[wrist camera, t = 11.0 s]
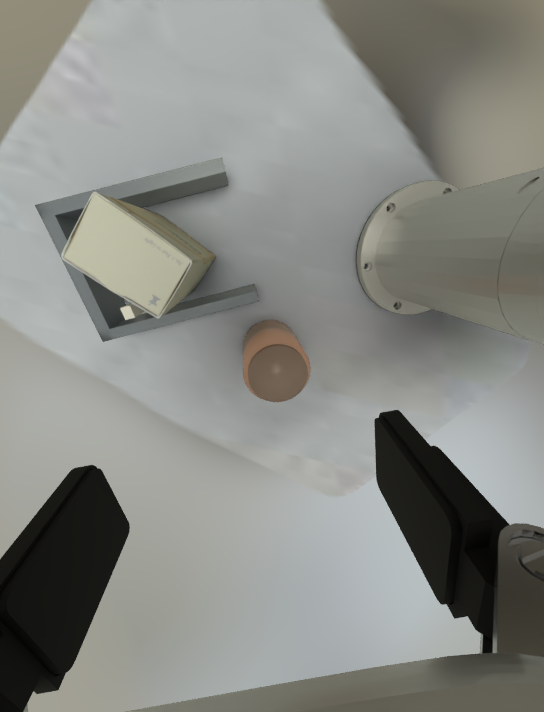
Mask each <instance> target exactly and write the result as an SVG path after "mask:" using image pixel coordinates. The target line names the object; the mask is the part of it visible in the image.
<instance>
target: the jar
mask: <svg viewBox="0 0 544 712" xmlns="http://www.w3.org/2000/svg"><path fill="white" fill-rule="evenodd" d="M243 375H244V380H245V383H246V385H247V387H248V388H249V390H250V391H251V392H252V393H253V394H254V395H256V396H257V397H259V398H261V399H264V400H267V401H271V402H282V401H286V400H289V399H291V398H293V397H295V396H296V395H297V394H299V393H300V392H301V390H302V389H303V388H304V387H305V385H306V383H307V381H308V379H309V376H310V362H309V359H308V357H307V355H306V353H305V351H304V350H303V348H302V346H301V345H300V343H299V342H298V340H297V338H296V337H295V335H294V333H293V332H292V330H291V329H290V328H289V327H288V326H287V325H285V324H284V323H282V322H279V321H276V320H265V321H261V322H259V323H257V324H255V325H254V326H252V327H251V328H250V329H249V330H248V332H247V333H246V335H245V338H244V341H243Z"/></svg>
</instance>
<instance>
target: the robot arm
mask: <svg viewBox="0 0 544 712" xmlns="http://www.w3.org/2000/svg"><path fill="white" fill-rule="evenodd" d="M387 206H388V208H389V209H388V211H387V209H386V208H387ZM356 260H357V272H358V275H359V279H360V283H361V285H362V287H363V289H364V291H365V292H366V294H367V295H368V296H369V297H370V299H371V300H372V301H374V302H375V303H376V304H377V305H379V306H380V307H382V308H384V309H386V310H388V311H391V312H394V313H398V314H405V315H409V314H419V313H423V312H426V311H429V310H431V309H434V310H437V311H440V312H443V313H446V314H449V315H452V316H456V317H459V318H462V319H465V320H468V321H471V322H474V323H477V324H480V325H483V326H486V327H489V328H493V329H496V330H499V331H502V332H505V333H508V334H511V335H514V336H517V337H520V338H524V339H527V340H530V341H534V342H537V343H540V344H544V168H541V169H537V170H534V171H530V172H526V173H522V174H519V175H515V176H511V177H507V178H503V179H500V180H496V181H492V182H488V183H484V184H480V185H477V186H473V187H469V188H465V189H462V190H460V189H458V188H457V187H455V186H454V185H451V184H448V183H445V182H442V181H423V182H417V183H414V184H411V185H408V186H406V187H404V188H402V189H400V190H398V191H396V192H394V193H393V194H391V195H390V196H389V197H387V198H386V199H385V200H384V201H383V202H382V203H381V204H380V205H379V206H378V207H377V208H376V209H375V210H374V212H373V213H372V215H371V216H370V218H369V219H368V221H367V222H366V225H365V227H364V229H363V231H362V233H361V237H360V240H359V244H358V249H357V259H356ZM365 264H366V265H367V266H366V268H365V269H364V265H365ZM394 304H395V305H394ZM375 448H376V477H377V483H378V486H379V488H380V491H381V493H382V495H383V496H384V498H385V500H386V502H387V504H388V506H389V508H390V510H391V511H392V514H393V516H394V517H395V519H396V521H397V523H398V525H399V527H400V529H401V531H402V533H403V535H404V537H405V539H406V541H407V543H408V544H409V546H410V548H411V550H412V552H413V553H414V556H415V558H416V560H417V562H418V564H419V565H420V567H421V569H422V571H423V573H424V575H425V577H426V579H427V581H428V583H429V585H430V586H431V589H432V590H433V592H434V594H435V596H436V598H437V600H438V601H439V602H440V603H441V604H447V606H448V607H449V609H450V611H451V613H452V615H453V617H454V618H460V617H465V616H468V617H469V619H470V621H471V622H472V624H473V626H474V628H475V629H476V630H477V631H478V632H480V633H481V641H480V654H470V655H459V656H447V657H440V658H434V659H427V660H420V661H414V662H407V663H400V664H395V665H387V666H380V667H374V668H368V669H363V670H357V671H352V672H345V673H340V674H334V675H329V676H322V677H317V678H311V679H305V680H299V681H294V682H288V683H282V684H277V685H271V686H265V687H259V688H255V689H249V690H243V691H237V692H232V693H226V694H221V695H215V696H209V697H205V698H198V699H193V700H187V701H182V702H176V703H171V704H165V705H160V706H155V707H149V708H143V709H138V710H132V711H127V712H544V529H543V528H541V527H538V526H534V525H529V524H512V525H509V524H508V523H507V521H506V520H505V519H504V518H503V517H502V516H501V515H500V514H499V513H498V512H497V511H496V509H495V508H494V507H492V505H491V504H490V503H489V502H488V501H487V500H486V499H485V497H484V496H483V495H482V494H481V493H480V492H479V491H478V490H477V489H476V488H475V487H474V486H473V484H472V483H471V482H470V481H469V480H468V479H467V478H466V477H465V476H464V475H463V474H462V472H461V471H460V470H459V469H458V468H457V467H456V466H455V465H454V464H453V463H452V462H451V460H450V459H449V458H448V457H447V456H446V455H445V454H444V453H443V452H442V451H441V450H440V449H439V448H438V447H436V446H430V445H429V444H428V443H427V442H426V441H425V439H424V438H423V437H422V436H421V435H420V434H419V433H418V431H417V430H416V429H415V428H414V427H413V426H412V425H411V424H410V422H409V421H408V420H407V419H406V418H405V417H404V416H403V414H402V413H401V412H400V411H399V410H394V411H388V412H383V413H380V415H379V418H376V419H375ZM129 528H130V527H129V522H128V520H127V518H126V516H125V514H124V513H123V511H122V509H121V507H120V505H119V503H118V501H117V499H116V497H115V495H114V493H113V491H112V489H111V487H110V485H109V484H108V482H107V480H106V478H105V476H104V474H103V472H102V470H101V469H97V467H96V466H94V465H89V466H84V467H78V468H74V469H73V470H71V471H70V472H69V474H68V475H67V476H66V477H65V479H64V480H63V481H62V483H61V484H60V485H59V486H58V487H57V489H56V490H55V491H54V492H53V494H52V495H51V496H50V497H49V499H48V500H47V501H46V503H45V504H44V505H43V506H42V508H41V509H40V510H39V511H38V513H37V514H36V515H35V516H34V518H33V519H32V520H31V521H30V523H29V524H28V525H27V526H26V528H25V529H24V530H23V531H22V533H21V534H20V535H19V537H18V538H17V539H16V540H15V541H14V543H13V544H12V545H11V546H10V548H9V549H8V550H7V551H6V553H5V554H4V555H3V557H2V558H1V559H0V712H28V708H27V703H28V701H29V698H30V696H31V695H32V692H33V691H34V692H35V693H37V694H39V693H45V692H51V691H56V690H59V687H60V685H61V683H62V680H63V678H64V676H65V673H66V672H68V671H69V670H70V669H71V667H72V666H73V664H74V662H75V660H76V657H77V655H78V653H79V650H80V648H81V645H82V643H83V641H84V639H85V636H86V634H87V631H88V629H89V627H90V624H91V622H92V619H93V617H94V615H95V613H96V610H97V608H98V605H99V603H100V601H101V598H102V596H103V594H104V591H105V589H106V586H107V584H108V582H109V579H110V577H111V575H112V572H113V570H114V568H115V565H116V563H117V561H118V558H119V556H120V553H121V551H122V549H123V546H124V544H125V541H126V539H127V537H128V534H129Z"/></svg>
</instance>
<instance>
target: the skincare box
mask: <svg viewBox="0 0 544 712" xmlns="http://www.w3.org/2000/svg"><path fill="white" fill-rule="evenodd" d="M61 257H62V259H63V260H64V261H65V262H67V263H68V264H70V265H71V266H73V267H75V268H76V269H78V270H79V271H81V272H82V273H84V274H86V275H87V276H89V277H90V278H92V279H93V280H95V281H96V282H98V283H100V284H101V285H103V286H104V287H106V288H107V289H109V290H110V291H112V292H114V293H116V294H117V295H119V296H121V297H122V298H124V299H125V300H127V301H129V302H131V303H132V304H134V305H136V306H137V307H139V308H140V309H142V310H144V311H145V312H147V313H149V314H151V315H152V316H154V317H155V318H157V319H159V318H160V317H162V316H163V315H164V314H165V313H167V312H168V311H169V310H170V309H171V308H173V307H174V306H175V305H177V304H178V303H179V302H180V301H182V300H183V299H184V298H185V297H187V296H188V295H189V294H190V293H192V292H193V291H194V290H195V288H196V287H197V286H198V284H199V283H200V281H201V280H202V278H203V277H204V275H205V273H206V272H207V270H208V269H209V267H210V266H211V264H212V262H213V260H214V259H215V255H214V254H212V253H211V252H210V251H209V250H207V249H206V248H205V247H203V246H202V245H201V244H200V243H198V242H197V241H196V240H194V239H193V238H192V237H190V236H189V235H188V234H186V233H185V232H184V231H182V230H181V229H180V228H178V227H177V226H175V225H174V224H173V223H171V222H170V221H169V220H167V219H166V218H164V217H163V216H162V215H159V214H157V213H154V212H151V211H149V210H146V209H143V208H140V207H137V206H135V205H132V204H129V203H126V202H123V201H120V200H118V199H115V198H112V197H109V196H107V195H104V194H101V193H98V192H93V193H92V195H91V197H90V198H89V200H88V202H87V204H86V206H85V208H84V210H83V212H82V214H81V216H80V217H79V219H78V221H77V223H76V225H75V227H74V229H73V231H72V233H71V235H70V237H69V239H68V241H67V243H66V245H65V247H64V249H63V252H62V254H61Z"/></svg>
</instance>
